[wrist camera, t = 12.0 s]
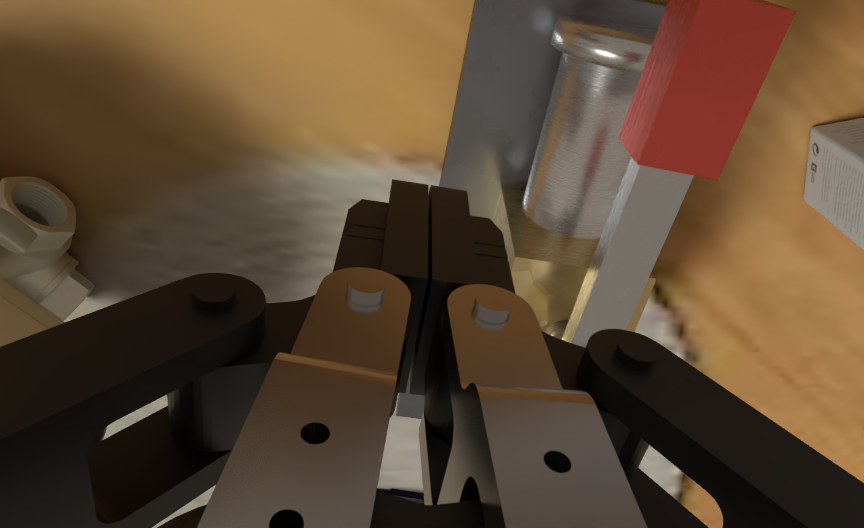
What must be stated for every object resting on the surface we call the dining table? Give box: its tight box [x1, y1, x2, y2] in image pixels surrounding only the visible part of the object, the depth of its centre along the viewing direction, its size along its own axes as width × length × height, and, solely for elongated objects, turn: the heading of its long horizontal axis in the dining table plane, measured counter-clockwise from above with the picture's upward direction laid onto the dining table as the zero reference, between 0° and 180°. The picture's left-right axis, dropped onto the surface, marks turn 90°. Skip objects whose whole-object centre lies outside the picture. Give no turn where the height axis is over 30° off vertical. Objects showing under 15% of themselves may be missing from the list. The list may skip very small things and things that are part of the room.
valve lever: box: [553, 0, 796, 348], centre depth 22 cm, size 16×3×2 cm, turn 169°
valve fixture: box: [396, 0, 667, 419], centre depth 30 cm, size 12×26×10 cm, turn 170°
